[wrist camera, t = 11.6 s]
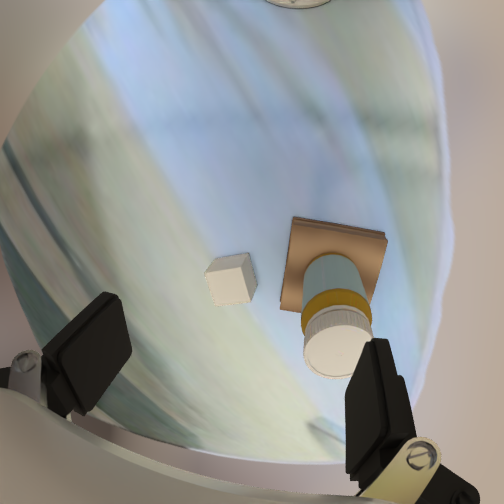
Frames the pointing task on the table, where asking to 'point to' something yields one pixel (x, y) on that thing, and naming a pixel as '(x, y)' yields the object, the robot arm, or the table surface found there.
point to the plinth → (329, 241)
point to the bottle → (334, 316)
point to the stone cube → (231, 280)
